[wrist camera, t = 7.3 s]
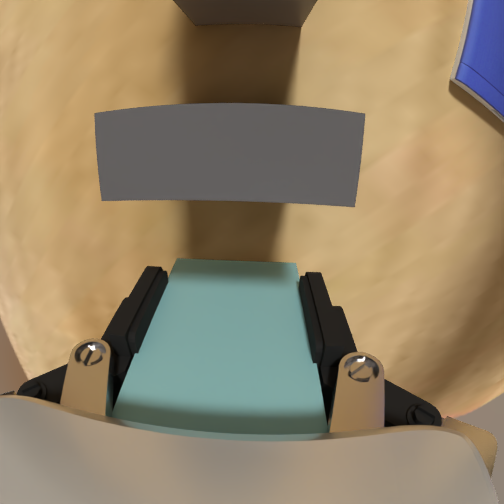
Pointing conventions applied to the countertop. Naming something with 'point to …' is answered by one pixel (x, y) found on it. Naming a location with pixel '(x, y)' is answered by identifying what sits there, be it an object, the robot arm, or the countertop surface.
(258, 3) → the tile
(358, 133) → the tile
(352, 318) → the countertop surface
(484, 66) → the hard drive
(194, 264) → the tile
